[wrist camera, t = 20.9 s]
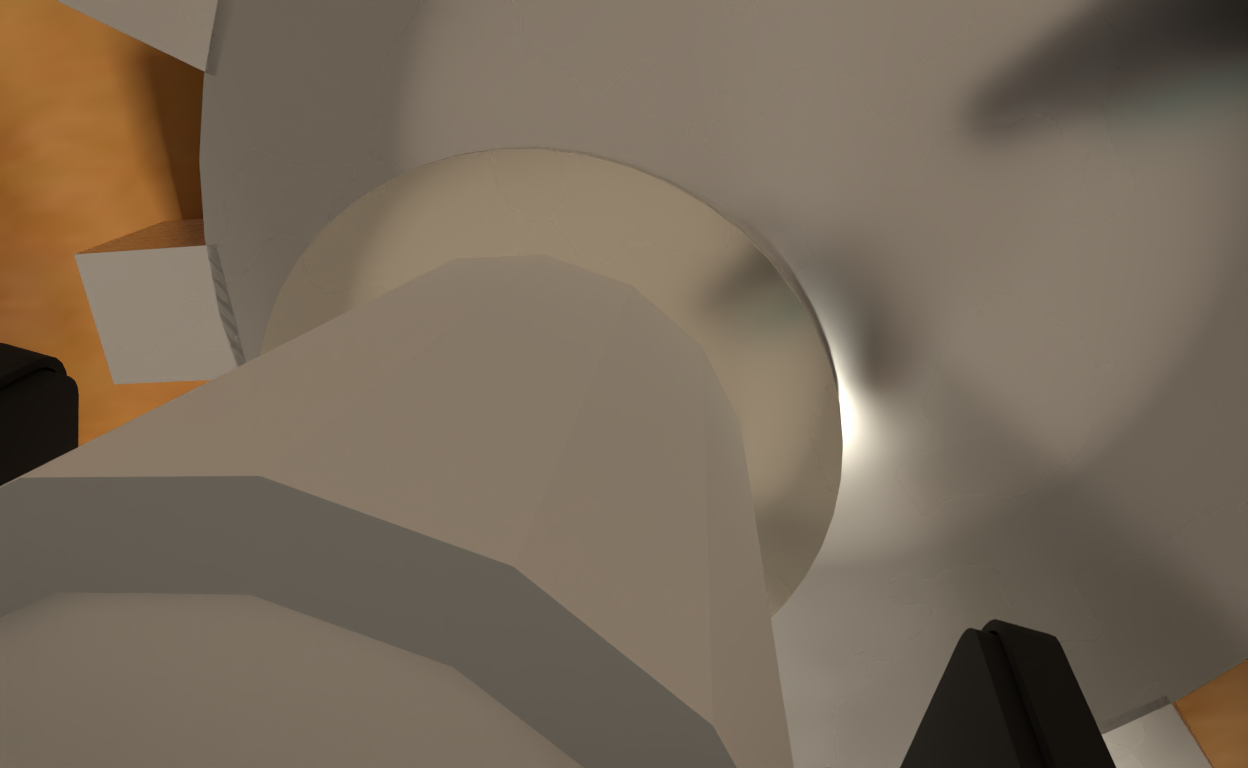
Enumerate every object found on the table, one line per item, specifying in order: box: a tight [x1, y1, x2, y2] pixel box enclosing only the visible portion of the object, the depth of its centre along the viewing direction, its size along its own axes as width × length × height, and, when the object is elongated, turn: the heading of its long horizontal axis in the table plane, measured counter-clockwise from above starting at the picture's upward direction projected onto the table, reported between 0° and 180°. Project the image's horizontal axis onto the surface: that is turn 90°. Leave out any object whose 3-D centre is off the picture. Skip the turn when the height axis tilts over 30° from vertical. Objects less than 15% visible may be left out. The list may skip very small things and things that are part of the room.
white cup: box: [0, 255, 794, 768], centre depth 9 cm, size 7×7×7 cm
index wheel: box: [58, 0, 1248, 768], centre depth 10 cm, size 19×19×6 cm
